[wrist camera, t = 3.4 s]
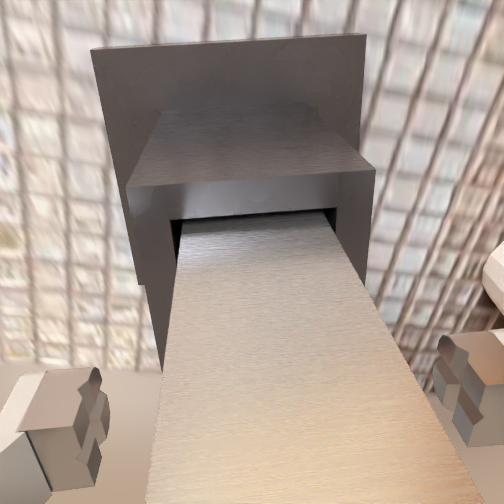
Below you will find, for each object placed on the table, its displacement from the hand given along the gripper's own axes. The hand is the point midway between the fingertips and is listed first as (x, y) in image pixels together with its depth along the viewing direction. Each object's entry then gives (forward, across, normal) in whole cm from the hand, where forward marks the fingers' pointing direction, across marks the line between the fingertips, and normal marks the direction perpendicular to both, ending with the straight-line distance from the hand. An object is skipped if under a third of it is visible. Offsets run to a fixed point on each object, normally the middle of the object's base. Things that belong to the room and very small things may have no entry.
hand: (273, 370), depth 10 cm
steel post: (+13, 0, 0) cm, 13 cm away
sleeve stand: (+15, 0, 0) cm, 15 cm away
